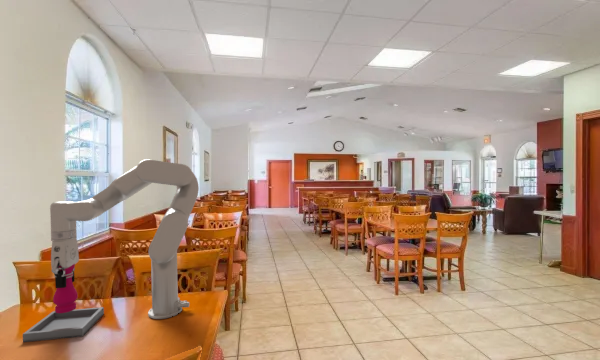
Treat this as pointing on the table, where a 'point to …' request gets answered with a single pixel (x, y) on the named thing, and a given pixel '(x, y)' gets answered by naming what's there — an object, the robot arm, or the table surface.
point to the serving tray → (64, 324)
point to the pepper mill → (66, 294)
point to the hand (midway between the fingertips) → (65, 284)
